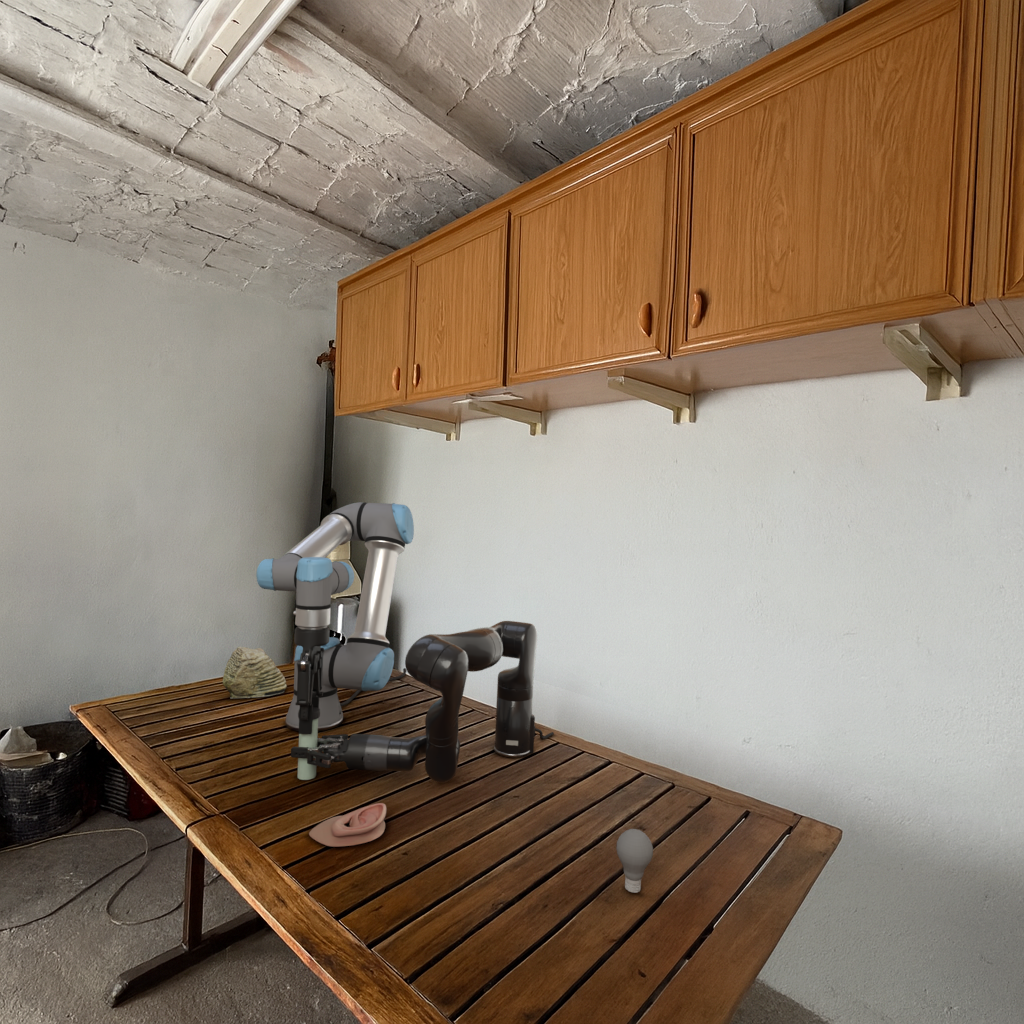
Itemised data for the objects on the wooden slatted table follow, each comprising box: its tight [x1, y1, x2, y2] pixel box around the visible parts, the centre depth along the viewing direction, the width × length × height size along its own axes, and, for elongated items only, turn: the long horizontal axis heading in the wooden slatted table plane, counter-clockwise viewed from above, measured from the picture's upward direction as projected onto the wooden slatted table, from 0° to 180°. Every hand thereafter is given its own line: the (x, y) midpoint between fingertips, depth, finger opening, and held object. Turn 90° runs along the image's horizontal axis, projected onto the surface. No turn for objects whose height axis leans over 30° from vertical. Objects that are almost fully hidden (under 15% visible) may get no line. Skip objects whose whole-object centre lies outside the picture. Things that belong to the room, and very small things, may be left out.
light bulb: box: [615, 828, 654, 894], centre depth 106 cm, size 6×6×10 cm
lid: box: [298, 707, 320, 720], centre depth 143 cm, size 5×5×2 cm
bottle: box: [296, 718, 319, 781], centre depth 143 cm, size 4×4×15 cm
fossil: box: [222, 646, 288, 699], centre depth 198 cm, size 9×18×15 cm, turn 132°
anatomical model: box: [308, 802, 387, 848], centre depth 120 cm, size 13×4×12 cm
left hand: (308, 728), depth 143 cm, fingers closed on lid, 5 cm apart
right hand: (295, 747), depth 143 cm, fingers closed on bottle, 4 cm apart
